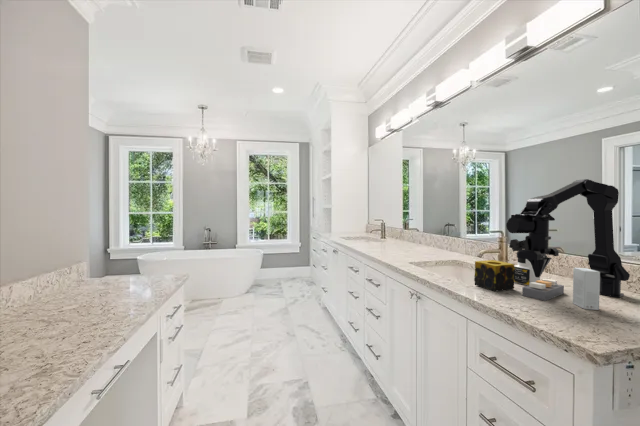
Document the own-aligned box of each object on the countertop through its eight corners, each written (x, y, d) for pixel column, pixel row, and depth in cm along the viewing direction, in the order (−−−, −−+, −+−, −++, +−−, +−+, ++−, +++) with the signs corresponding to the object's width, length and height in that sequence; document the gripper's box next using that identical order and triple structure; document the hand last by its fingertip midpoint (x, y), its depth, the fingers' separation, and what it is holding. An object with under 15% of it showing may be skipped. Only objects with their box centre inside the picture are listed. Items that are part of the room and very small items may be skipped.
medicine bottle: (511, 282, 127) (512, 254, 127) (522, 280, 130) (523, 253, 130) (529, 286, 120) (529, 256, 120) (540, 284, 123) (540, 255, 123)
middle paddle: (538, 283, 111) (538, 280, 111) (551, 286, 108) (551, 282, 108) (535, 284, 110) (535, 281, 110) (548, 287, 106) (548, 283, 106)
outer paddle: (532, 285, 108) (532, 281, 108) (545, 288, 105) (545, 284, 105) (529, 286, 107) (529, 282, 107) (542, 289, 104) (542, 285, 104)
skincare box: (599, 310, 92) (600, 271, 92) (584, 309, 93) (584, 271, 93) (586, 304, 98) (587, 268, 98) (571, 303, 99) (572, 267, 99)
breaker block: (541, 289, 116) (541, 281, 116) (563, 293, 110) (563, 285, 110) (522, 295, 107) (522, 287, 107) (545, 300, 101) (545, 292, 101)
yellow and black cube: (492, 283, 125) (492, 259, 125) (515, 289, 115) (515, 264, 115) (473, 285, 122) (473, 260, 122) (494, 291, 112) (495, 265, 112)
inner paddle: (544, 282, 114) (544, 278, 114) (557, 284, 110) (557, 280, 110) (541, 283, 112) (541, 279, 112) (554, 285, 109) (554, 281, 109)
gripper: (525, 230, 117) (524, 270, 118) (501, 232, 107) (500, 275, 108) (559, 232, 108) (558, 275, 108) (537, 235, 98) (535, 282, 98)
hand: (537, 277), depth 106 cm, fingers closed
